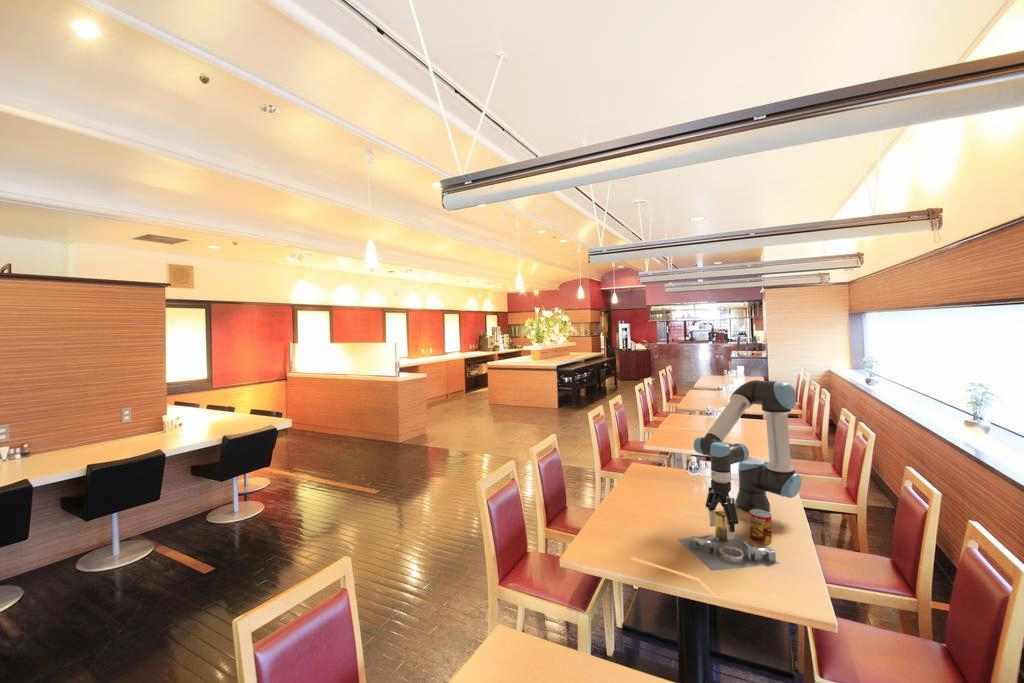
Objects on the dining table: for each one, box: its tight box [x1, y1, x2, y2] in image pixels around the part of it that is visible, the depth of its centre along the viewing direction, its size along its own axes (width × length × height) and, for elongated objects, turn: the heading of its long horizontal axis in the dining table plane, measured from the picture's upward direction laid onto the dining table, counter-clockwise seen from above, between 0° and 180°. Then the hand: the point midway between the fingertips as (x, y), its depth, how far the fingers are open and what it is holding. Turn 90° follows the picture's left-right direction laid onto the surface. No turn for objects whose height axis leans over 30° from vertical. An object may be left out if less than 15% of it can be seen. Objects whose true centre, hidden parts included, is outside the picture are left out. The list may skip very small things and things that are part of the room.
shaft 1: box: [689, 535, 719, 556], centre depth 166 cm, size 10×5×5 cm, turn 53°
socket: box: [720, 547, 745, 563], centre depth 160 cm, size 8×8×2 cm
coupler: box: [714, 510, 728, 542], centre depth 174 cm, size 5×5×11 cm
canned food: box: [749, 509, 773, 545], centre depth 174 cm, size 8×8×12 cm
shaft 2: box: [743, 541, 777, 562], centre depth 159 cm, size 10×5×5 cm, turn 83°
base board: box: [677, 533, 782, 572], centre depth 165 cm, size 28×24×1 cm
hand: (721, 532), depth 174 cm, fingers open, 11 cm apart
